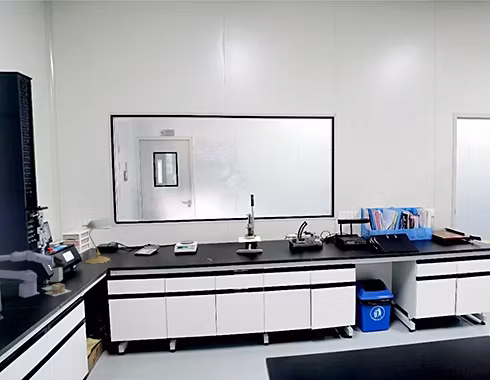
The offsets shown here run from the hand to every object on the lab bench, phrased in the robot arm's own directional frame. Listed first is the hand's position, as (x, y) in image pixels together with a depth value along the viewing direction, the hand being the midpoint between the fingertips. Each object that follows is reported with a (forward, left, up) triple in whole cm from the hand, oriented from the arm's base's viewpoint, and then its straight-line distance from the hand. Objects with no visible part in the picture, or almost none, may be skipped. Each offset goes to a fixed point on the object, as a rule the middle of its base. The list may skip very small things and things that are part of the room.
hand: (63, 263), depth 240 cm
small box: (+6, +21, -17) cm, 28 cm away
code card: (-8, -7, -17) cm, 20 cm away
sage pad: (-6, +6, -17) cm, 19 cm away
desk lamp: (+62, +48, -17) cm, 80 cm away
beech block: (-8, -7, -17) cm, 20 cm away
